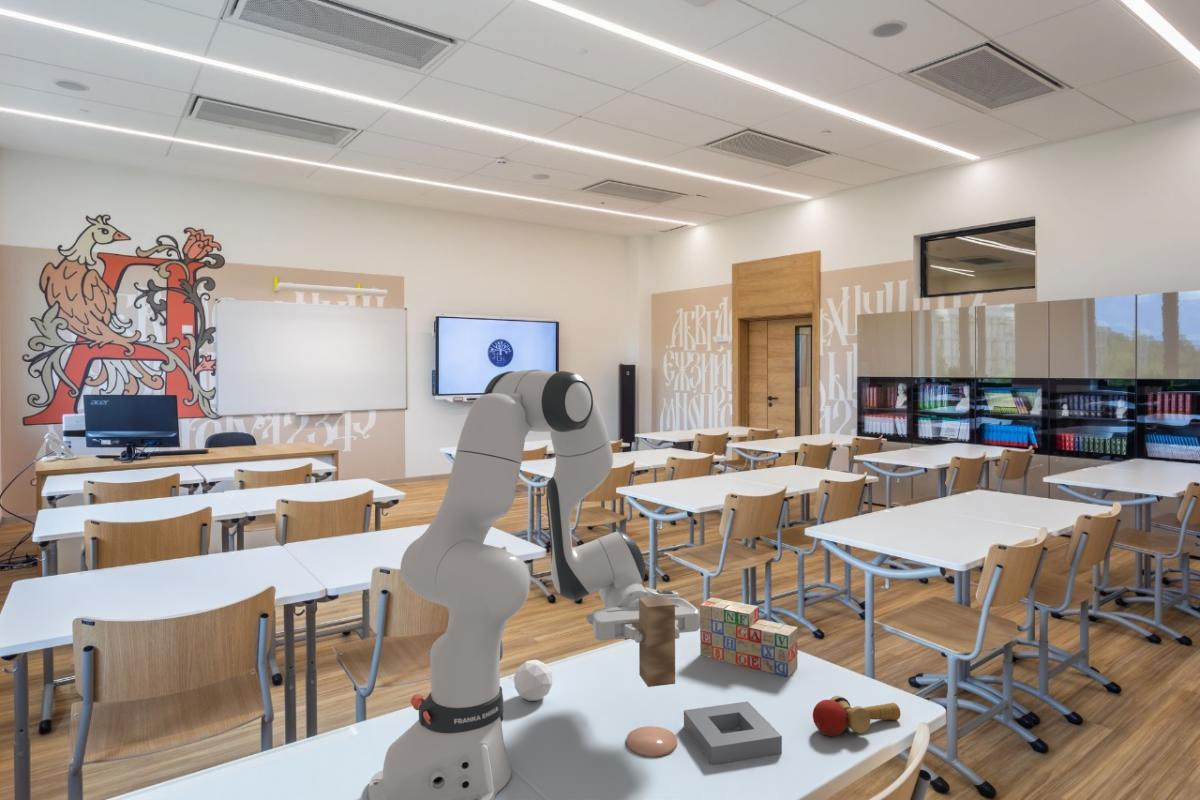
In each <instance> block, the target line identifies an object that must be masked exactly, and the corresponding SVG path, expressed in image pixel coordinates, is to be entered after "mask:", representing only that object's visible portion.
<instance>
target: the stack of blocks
mask: <svg viewBox="0 0 1200 800" xmlns="http://www.w3.org/2000/svg"><path fill="white" fill-rule="evenodd" d="M699 613H700V628H699V630H700V631H699V634H700V635H699V638H700V639H699V640H700V644H699V645H700V646H699V647H700V655H701V654H703V655H706V656H710V657H713V658H712V659H714V658H716V659H715V660H717V659H720V660H719V661H721V660H723V661H722V662H725V661H726V662H725V663H729V664H733V663H734V664H733V665H738V666H743V667H746V668H750V669H753V670H758V671H763V672H766V673H769V674H774V675H779V676H782V677H785V678H788V677H790V676H791V675H792V674H793V673H794V672H795V671H796V670H797V669H798V665H799V664H798V663H799V661H798V648H799V647H798V640H799V639H798V638H799V637H798V633H799V631H798V626H794V625H793V626H792V625H789V624H785V623H780V622H775V621H770V620H765V619H760V606H759V605H755V604H754V605H752V604H749V603H748V604H746V603H743V602H738V601H737V602H736V601H732V600H725V599H722V598H716V597H710V598H708V599H706V600H705V601H702V603H700V604H699ZM703 655H702V656H703ZM706 656H705V657H706ZM710 657H709V658H710Z"/></svg>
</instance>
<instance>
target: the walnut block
mask: <svg viewBox="0 0 1200 800" xmlns="http://www.w3.org/2000/svg"><path fill="white" fill-rule="evenodd" d="M639 629H642V630H643V631H644V633H645V637H644V639H645V642H639V643H638V644H639V646H638V647H639V649H638V650H639V651H638V652H639V653H638V654H639V655H638V656H639V657H638V658H639V663H638V664H639V668H638V669H639V674H638V675H639V676H640V678H641V679H642V681H643V682H644V684H645V685H646V686H647V688H651V687H653V688H654V687H659V686H668V685H676V639H675V604H674V603H673V602H672V601H671V600H669V599H668V598H667V597H666V596H657V597H645V598H639Z"/></svg>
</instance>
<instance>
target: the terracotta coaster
mask: <svg viewBox="0 0 1200 800" xmlns="http://www.w3.org/2000/svg"><path fill="white" fill-rule="evenodd" d="M626 746H627V747H628V749H629V750H630V751H631V752H633V753H635V754H637V755H640V756H645V757H653V758H654V757H656V758H657V757H662V756H666V755H668V754H671V753H673V752H674V751H675V750H676V748H677V746H678V738H677V736H676V735H675V733H674V732H672V731H671V730H669V729H667V728H664V727H660V726H655V725H654V726H652V725H651V726H650V725H649V726H640V727H637V728H634V729H633V730H631V731H630V732H629V733H628V734H627V736H626Z"/></svg>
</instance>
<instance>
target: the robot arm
mask: <svg viewBox="0 0 1200 800" xmlns="http://www.w3.org/2000/svg"><path fill="white" fill-rule="evenodd" d="M530 431H531V432H535V433H536V432H541V433H542V432H543V433H544V432H545V433H546V432H549V433H550V439H551V443H552V444H551V445H552V447H553V451H554V456H555V467H554V472H553V475H552V477H550V478H549V480H548V481H547V482H546V483H547V484H546V489H545V490H546V491H545V492H546V493H545V496H546V497H545V498H546V510H547V511H546V513H547V524H548V532H549V533H548V535H549V545H550V561H551V562H550V563H551V564H550V570H551V571H550V573H551V580H552V583H553V586H554V588H555V590H556V591H557V594H558V595H559V596H561V597H563V598H565V599H568V600H570V601H574V602H575V601H579V600H581V599H583V598H584V597H587V596H588V595H590V594H591V593H595V592H596V591H597V592H598V593H599V596H600V597H599V598H600V599H601V603H602V604H603V606H604V608H597V609H594V610H593V611H592V612H591V614H588V615H586V617H585V620H586V622H587V623H588V624H589V625H592V632H593V633H592V634H593V636H594V638H595V640H598V641H603V642H604V641H611V640H621V639H628V640H633V641H635V643H636V644H637V643H638V644H639V642H645V639H644V637H645V633H644V631H643V630H642V629H639V598H645V597H657V596H666V597H667V598H668V599H669V600H671V601H672V602H673V603H674V604H675V640H677V639H680V633H681V634H682V633H683V634H684V633H692V632H693V633H694V632H698V631H699V630H700V610H698V609H699V608H697V607H696V606H694V605H693V604H692V603H691V602H690V601H688V600H686V599H684V598H682V597H680V593H679V592H678V591H676V590H675V591H674V590H663V589H653V588H650V587H645V586H643V584H642V583H643V582H644V580H645V576H646V564H645V560H644V557H643V554H642V552H641V549H640V548H639V546H638V545H637V542H635V540H634V539H633V538H632V537H630V536H629V535H628V534H626V533H624V532H621V531H614V532H611V533H609V534H606V535H603V536H599V537H598V538H596V539H594V540H591V541H589V542H586V543H583V544H580V545H578V546H573V540H572V529H571V528H572V527H571V516H572V513H573V511H574V509H576V507H577V506H578V505H579V503H581V501H583V500H584V499H585V498H586V497H587V496H588V495H590V494H591V493H592V492H593V491H595V490H596V489H597V488H599V486H602V483H604V482H605V480H606V479H607V477H608V476H609V474H610V472H611V470H612V467H613V463H614V453H613V447H612V444H611V443H612V442H611V439H610V436H609V432H608V429H607V425H606V422H605V419H604V417H603V415H602V412H601V409H600V407H599V405H598V403H597V400H596V399H595V397H594V395H593V393H592V390H591V388H590V386H589V384H588V383H587V381H586V380H585V379H584V378H583V377H582V376H581V375H579V374H577V373H574V372H570V371H565V370H562V371H554V370H553V371H552V370H542V369H525V370H518V371H515V370H509V371H505V372H502V373H500V374H497V375H496V376H494V377H492V379H491V380H490V381H489V382H488V383H487V385H486V388H485V389H484V392H483V394H482V395H479V397H477V398H476V399H475V400H474V401H473V403H472V405H471V407H470V409H469V411H468V413H467V417H466V419H465V421H464V424H463V426H462V429H461V432H460V435H459V436H460V437H459V440H458V443H457V448H456V452H455V456H454V460H453V464H452V468H451V472H450V476H449V479H448V483H447V488H446V491H445V494H444V496H443V500H442V502H441V505H440V506H439V508H438V510H437V513H436V515H435V516H434V518H433V519H432V521H431V523H430V525H429V526H428V527H427V528H426V530H425V532H423V533H422V535H421V536H419V537H418V538H417V539H415V540H414V541H412V542H411V543H410V544H409V545H408V546H407V548H406V549H405V551H404V553H403V555H402V558H401V562H400V575H401V576H400V577H401V578H402V581H403V583H404V584H405V586H406V587H407V588H408V589H410V590H411V591H412V592H414V593H415V594H417V595H418V596H419V597H421V598H422V599H424V600H426V601H428V602H432V603H434V604H437V605H440V606H443V607H446V609H447V611H448V622H447V628H446V630H445V633H443V634H442V635H440V636H439V637H438V638H436V639H435V641H434V642H433V643H432V645H431V648H430V652H429V653H430V654H429V655H430V657H429V658H430V659H429V660H430V661H429V662H430V663H429V665H430V666H429V667H430V669H429V670H430V693H429V694H428V696H427V697H426V698H424V696H423V695H422V694H421V693H415V694H414V695H412V697H411V698H410V704H411V706H412V707H413V709H414V710H415V711H418V720H417V721H415V723H413V724H412V725H411V726H410V727H409V728H408V729H406V731H404V732H403V734H401V735H400V736H399V737H398V738H397V739H395V741H394V742H392V743H391V745H389V747H388V748H387V751H386V753H385V756H384V761H383V768H382V770H380V771H378V772H376V773H374V774H373V776H372V777H371V779H370V781H369V784H368V788H367V790H368V791H367V796H368V797H367V798H368V799H369V800H495V798H496V795H497V794H498V793H499V792H500V791H501V790H503V788H504V787H505V786H506V785H507V784H508V782H509V781H510V778H511V775H512V767H511V764H510V761H509V758H508V754H507V751H506V750H507V749H506V746H505V745H506V744H505V740H504V732H503V725H502V722H503V720H504V695H503V688H502V686H501V683H500V682H501V681H500V679H501V678H500V672H501V671H500V666H501V664H500V662H501V660H500V658H501V653H500V652H501V642H502V638H503V635H504V630H505V628H506V626H507V624H508V622H509V620H510V619H511V618H513V616H515V615H516V614H518V613H519V611H520V610H522V608H523V607H524V605H525V604H526V602H527V600H528V597H529V596H530V595H529V594H530V590H531V574H530V570H529V568H528V566H527V564H526V563H525V561H524V560H523V559H521V558H519V557H518V556H517V555H515V554H513V553H511V552H509V551H507V550H506V549H503V548H501V547H497V546H495V545H494V546H493V545H489V544H485V543H484V542H485V539H486V537H487V535H488V534H489V531H490V530H491V529H492V527H493V526H494V524H495V523H496V522H497V521H499V520H500V519H501V518H504V517H505V516H507V515H508V514H509V512H510V511H511V509H512V507H513V505H514V501H515V500H514V499H515V497H516V496H515V494H516V491H517V486H518V481H519V476H520V471H521V466H522V461H523V456H524V450H525V440H526V436H527V435H528V434H529V432H530Z"/></svg>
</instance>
